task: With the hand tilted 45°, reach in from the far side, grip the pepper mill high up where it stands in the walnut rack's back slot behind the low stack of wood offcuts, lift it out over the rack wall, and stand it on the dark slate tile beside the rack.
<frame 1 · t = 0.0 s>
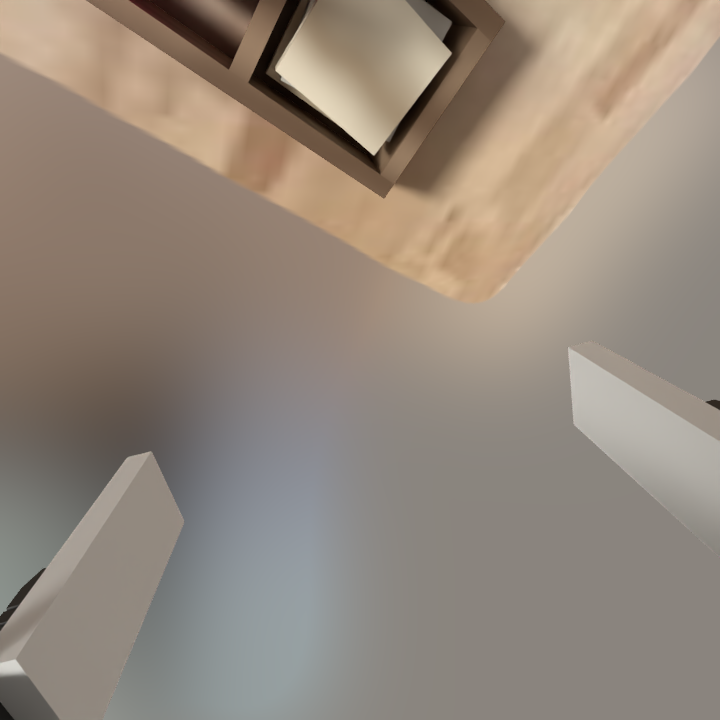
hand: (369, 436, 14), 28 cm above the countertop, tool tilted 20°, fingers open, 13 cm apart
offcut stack: (351, 48, 31), resting in walnut rack
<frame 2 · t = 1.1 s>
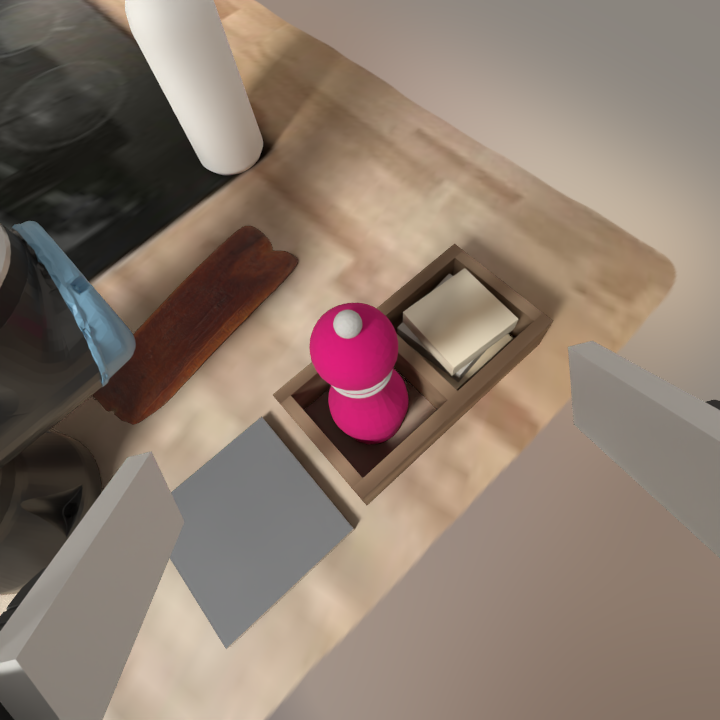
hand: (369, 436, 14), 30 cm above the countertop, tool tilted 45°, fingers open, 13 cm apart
wooden tablet: (197, 322, 52), on the countertop
slate tile: (249, 522, 42), on the countertop
alcohol: (233, 154, 62), on the countertop
walnut rack: (412, 377, 46), on the countertop
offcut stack: (451, 342, 47), resting in walnut rack
pepper mill: (372, 414, 45), resting in walnut rack
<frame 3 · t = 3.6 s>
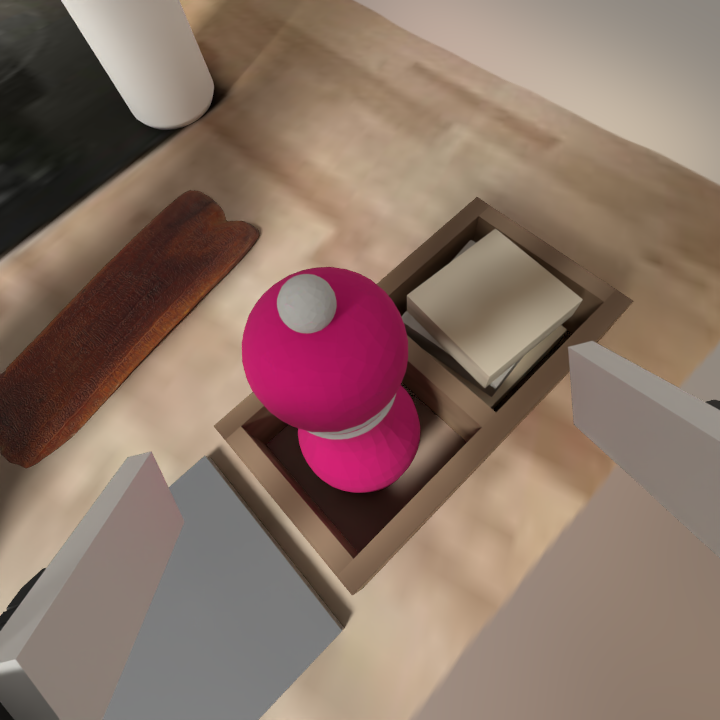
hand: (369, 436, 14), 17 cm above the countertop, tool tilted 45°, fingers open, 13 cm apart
wooden tablet: (123, 321, 38), on the countertop
slate tile: (185, 620, 28), on the countertop
alcohol: (177, 104, 48), on the countertop
walnut rack: (423, 390, 32), on the countertop
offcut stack: (476, 339, 33), resting in walnut rack
pepper mill: (366, 446, 31), resting in walnut rack
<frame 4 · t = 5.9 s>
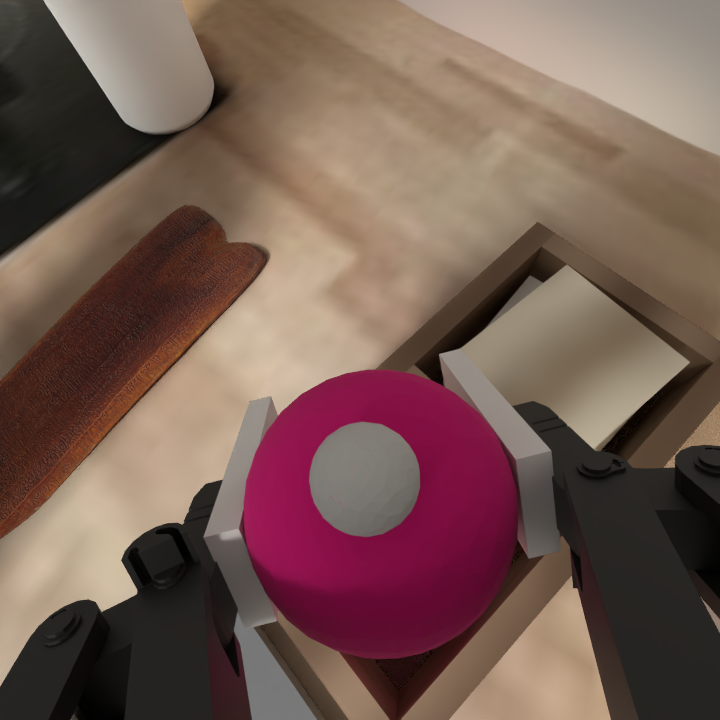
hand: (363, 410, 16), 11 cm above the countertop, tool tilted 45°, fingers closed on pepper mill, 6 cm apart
wooden tablet: (104, 363, 32), on the countertop
alcohol: (172, 106, 41), on the countertop
walnut rack: (469, 462, 26), on the countertop
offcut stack: (533, 396, 27), resting in walnut rack
pepper mill: (399, 534, 25), resting in walnut rack, touching gripper
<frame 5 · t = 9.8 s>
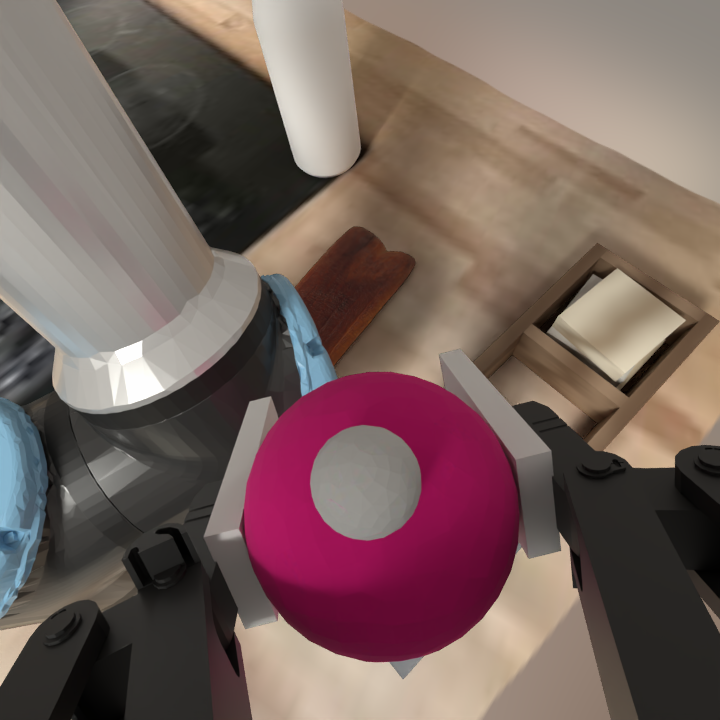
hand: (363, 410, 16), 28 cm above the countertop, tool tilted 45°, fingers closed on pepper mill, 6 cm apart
wooden tablet: (315, 328, 50), on the countertop
slate tile: (403, 542, 40), on the countertop
alcohol: (328, 156, 60), on the countertop
walnut rack: (557, 383, 44), on the countertop
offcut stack: (593, 346, 45), resting in walnut rack
pepper mill: (399, 536, 25), point 16 cm above the countertop, touching gripper
when the fingers open (13 cm above the countertop, at t = 14.0 s): pepper mill stays where it is, resting on slate tile.
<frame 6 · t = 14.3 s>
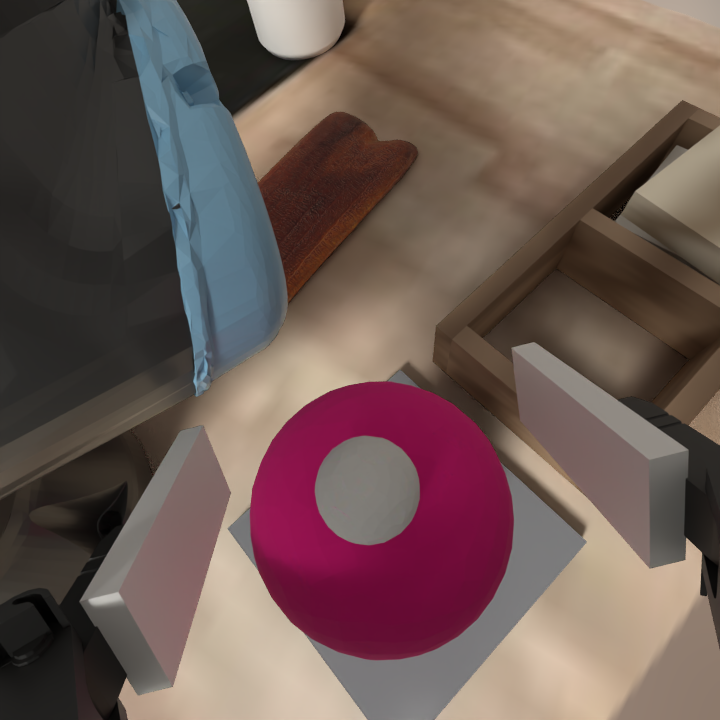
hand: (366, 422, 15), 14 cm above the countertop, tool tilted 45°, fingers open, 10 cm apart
wooden tablet: (280, 240, 37), on the countertop
slate tile: (399, 535, 26), on the countertop
alcohol: (303, 37, 46), on the countertop
walnut rack: (624, 305, 30), on the countertop
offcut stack: (674, 254, 31), resting in walnut rack
pepper mill: (398, 537, 25), point 1 cm above the countertop, touching slate tile
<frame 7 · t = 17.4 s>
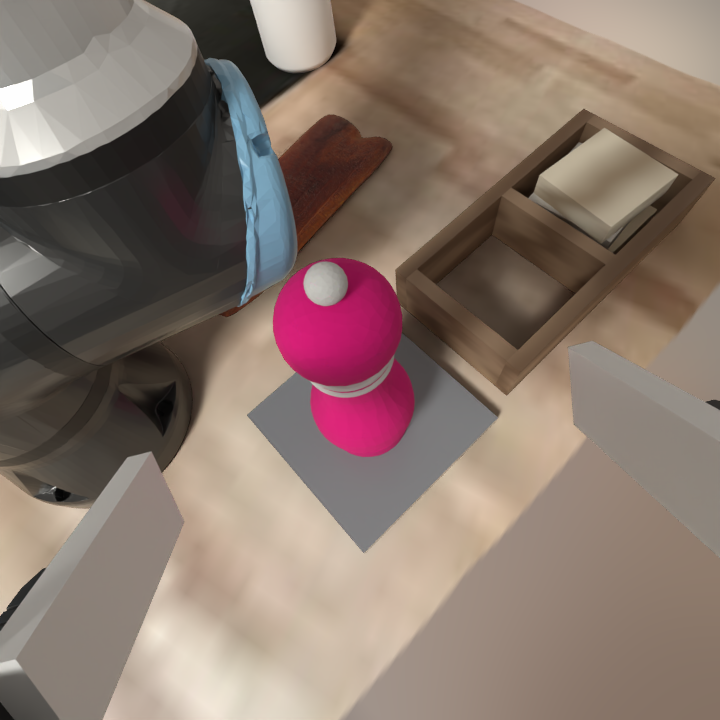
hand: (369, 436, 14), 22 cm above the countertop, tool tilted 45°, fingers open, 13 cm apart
wooden tablet: (284, 215, 47), on the countertop
slate tile: (369, 419, 37), on the countertop
alcohol: (302, 54, 56), on the countertop
walnut rack: (539, 261, 41), on the countertop
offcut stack: (579, 224, 42), resting in walnut rack
pepper mill: (368, 418, 36), point 1 cm above the countertop, touching slate tile
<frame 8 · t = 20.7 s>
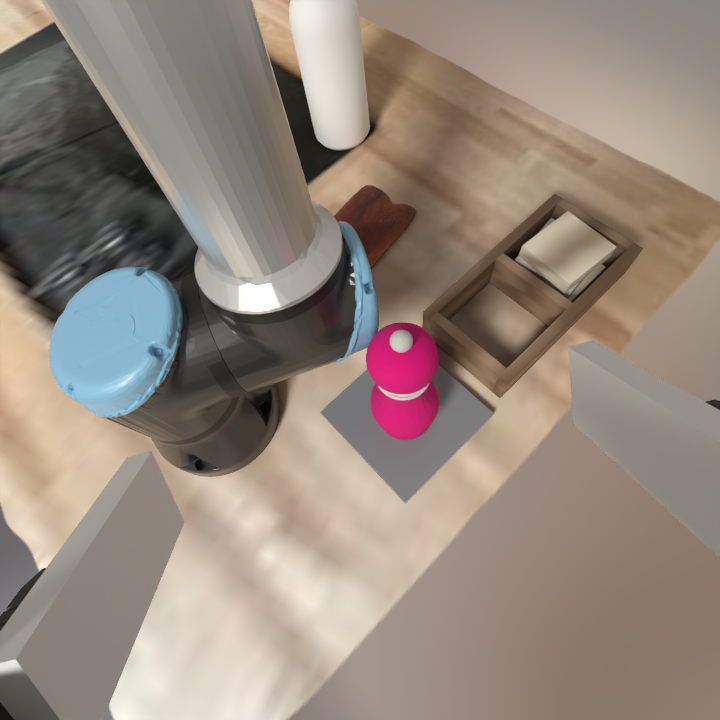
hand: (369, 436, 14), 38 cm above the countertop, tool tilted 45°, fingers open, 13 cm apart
wooden tablet: (336, 263, 64), on the countertop
slate tile: (405, 415, 53), on the countertop
alcohol: (343, 134, 73), on the countertop
walnut rack: (523, 302, 57), on the countertop
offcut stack: (552, 275, 58), resting in walnut rack
pepper mill: (405, 414, 52), point 1 cm above the countertop, touching slate tile
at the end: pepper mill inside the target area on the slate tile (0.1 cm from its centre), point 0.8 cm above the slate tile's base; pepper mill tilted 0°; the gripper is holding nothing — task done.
